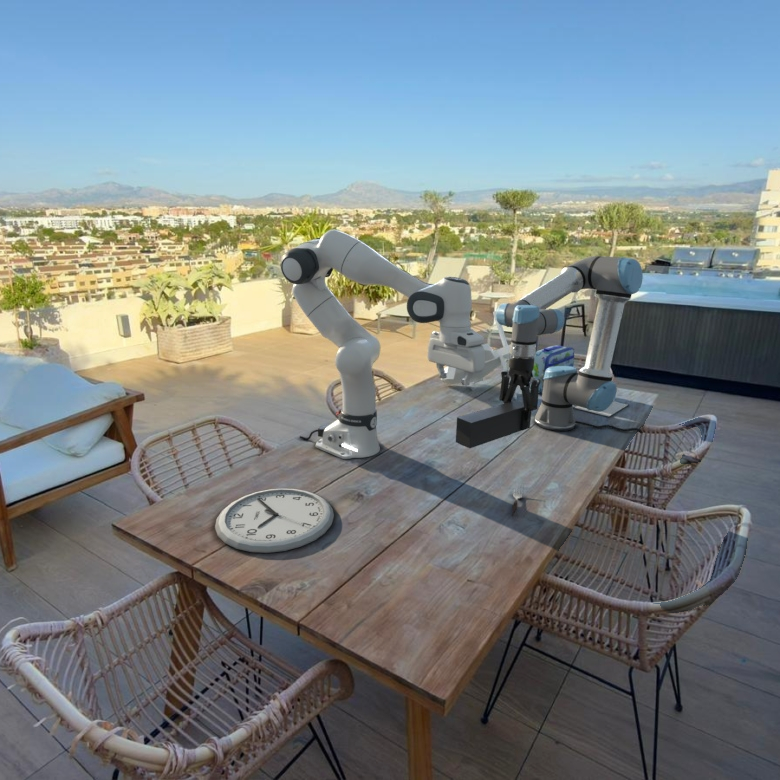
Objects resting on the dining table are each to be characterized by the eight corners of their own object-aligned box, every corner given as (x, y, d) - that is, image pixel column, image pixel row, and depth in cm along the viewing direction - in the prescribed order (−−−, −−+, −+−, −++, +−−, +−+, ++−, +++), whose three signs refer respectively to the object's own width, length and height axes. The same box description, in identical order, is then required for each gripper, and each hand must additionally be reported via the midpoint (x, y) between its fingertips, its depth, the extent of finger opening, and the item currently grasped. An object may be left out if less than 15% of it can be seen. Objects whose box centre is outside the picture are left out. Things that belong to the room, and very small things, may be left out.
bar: (515, 422, 172) (517, 399, 170) (529, 427, 168) (532, 404, 166) (455, 442, 156) (456, 417, 153) (469, 448, 151) (471, 423, 149)
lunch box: (546, 398, 236) (551, 353, 229) (525, 393, 243) (529, 349, 237) (573, 387, 253) (579, 344, 247) (553, 382, 260) (558, 341, 254)
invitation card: (608, 416, 214) (573, 407, 224) (608, 416, 214) (573, 408, 224) (628, 404, 229) (594, 396, 238) (628, 405, 229) (594, 397, 238)
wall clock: (332, 544, 122) (200, 548, 120) (332, 550, 123) (201, 555, 120) (334, 484, 151) (228, 486, 148) (334, 489, 151) (228, 491, 149)
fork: (506, 517, 138) (507, 510, 138) (514, 490, 152) (515, 483, 152) (516, 518, 137) (517, 512, 137) (523, 491, 152) (524, 485, 151)
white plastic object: (461, 429, 252) (437, 405, 227) (444, 352, 274) (420, 323, 250) (535, 404, 240) (518, 377, 215) (510, 326, 262) (492, 293, 237)
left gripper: (422, 331, 155) (422, 376, 160) (473, 341, 140) (471, 391, 144) (438, 328, 159) (437, 372, 163) (489, 338, 144) (487, 386, 148)
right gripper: (490, 351, 166) (485, 420, 173) (540, 364, 152) (532, 438, 159) (506, 348, 170) (500, 415, 177) (555, 360, 156) (547, 432, 163)
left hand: (454, 381), depth 153 cm, fingers open, 8 cm apart
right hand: (515, 426), depth 168 cm, fingers closed on bar, 6 cm apart
